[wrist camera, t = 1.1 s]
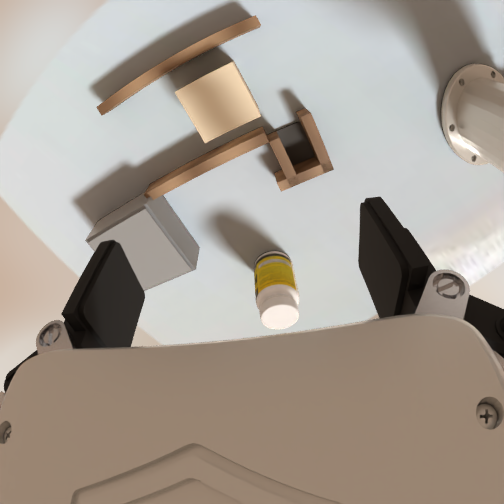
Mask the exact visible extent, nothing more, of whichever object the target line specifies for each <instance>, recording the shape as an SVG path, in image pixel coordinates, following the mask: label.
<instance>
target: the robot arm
mask: <svg viewBox="0 0 504 504" xmlns="http://www.w3.org/2000/svg"><path fill="white" fill-rule="evenodd" d="M441 116H442V126H443V131H444V134H445V137H446V140H447V142H448V144H449V146H450V147H451V149H452V150H453V151H454V153H455V154H456V155H458V156H459V157H460V158H461V159H463V160H464V161H466V162H468V163H470V164H473V165H484V164H488V163H490V164H492V165H493V166H495V167H496V168H497V169H499V170H500V171H502V172H503V173H504V77H503V76H502V75H501V74H500V73H499V72H498V71H497V70H495V69H494V68H492V67H490V66H486V65H483V64H470V65H466V66H464V67H463V68H461V69H460V70H458V71H457V72H456V73H455V74H454V75H453V77H452V78H451V80H450V81H449V83H448V85H447V87H446V90H445V93H444V97H443V101H442V109H441ZM358 262H359V268H360V271H361V273H362V275H363V278H364V280H365V283H366V285H367V288H368V290H369V292H370V295H371V297H372V300H373V303H374V305H375V308H376V310H377V313H378V315H379V319H373V320H367V321H361V322H355V323H350V324H344V325H337V326H331V327H325V328H318V329H312V330H305V331H298V332H291V333H284V334H276V335H268V336H260V337H251V338H242V339H233V340H223V341H212V342H201V343H189V344H175V345H159V346H141V347H131V344H132V340H133V336H134V332H135V329H136V326H137V323H138V319H139V316H140V313H141V309H142V306H143V303H144V299H145V293H144V290H143V288H142V286H141V284H140V283H139V281H138V279H137V277H136V275H135V273H134V271H133V269H132V267H131V265H130V263H129V261H128V259H127V257H126V255H125V253H124V250H123V248H122V246H121V244H120V243H118V242H116V241H115V240H108V241H103V242H101V243H100V244H99V245H98V247H97V249H96V251H95V252H94V254H93V256H92V257H91V259H90V261H89V263H88V264H87V266H86V268H85V270H84V272H83V273H82V275H81V277H80V279H79V281H78V283H77V285H76V286H75V288H74V290H73V292H72V294H71V296H70V298H69V300H68V302H67V304H66V306H65V308H64V310H63V312H62V315H63V317H64V318H65V321H64V323H63V322H62V321H60V320H55V321H51V322H50V323H48V324H46V325H45V326H44V327H43V328H42V329H41V330H40V332H39V334H38V336H37V339H36V346H37V350H36V351H35V352H34V353H33V354H31V355H30V356H29V357H27V358H26V359H25V360H24V361H22V362H21V363H20V364H19V365H17V366H16V367H15V368H14V369H13V370H11V371H10V372H9V373H8V374H7V376H6V380H5V383H4V390H5V393H3V392H2V391H1V392H0V504H504V309H502V308H499V307H497V306H495V305H492V304H490V303H488V302H486V301H483V300H481V299H479V298H476V297H474V296H471V295H469V292H470V289H469V285H468V282H467V281H466V279H465V278H464V277H463V276H461V275H460V274H459V273H457V272H454V271H451V270H438V271H436V270H435V268H434V267H433V265H432V264H431V262H430V261H429V259H428V258H427V256H426V255H425V253H424V252H423V250H422V249H421V247H420V246H419V244H418V243H417V241H416V240H415V239H414V237H413V236H412V234H411V233H410V231H409V230H408V229H407V228H403V226H402V225H401V223H400V222H399V221H398V219H397V218H396V216H395V215H394V214H393V212H392V211H391V210H390V208H389V207H388V206H387V204H386V203H385V202H384V200H383V199H382V198H381V197H373V198H366V199H365V203H361V205H360V237H359V259H358Z"/></svg>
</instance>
